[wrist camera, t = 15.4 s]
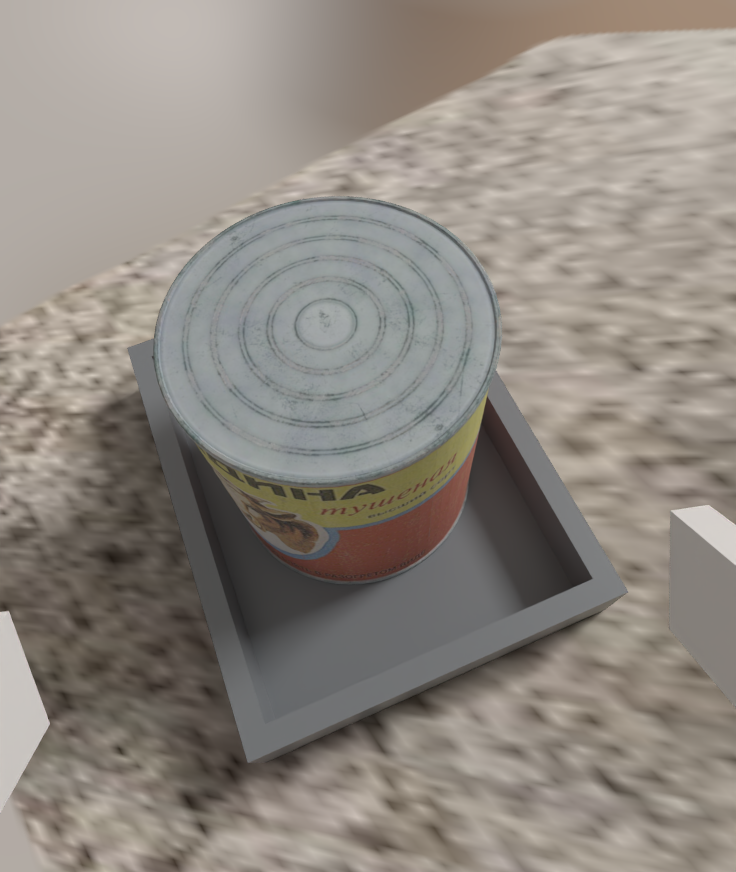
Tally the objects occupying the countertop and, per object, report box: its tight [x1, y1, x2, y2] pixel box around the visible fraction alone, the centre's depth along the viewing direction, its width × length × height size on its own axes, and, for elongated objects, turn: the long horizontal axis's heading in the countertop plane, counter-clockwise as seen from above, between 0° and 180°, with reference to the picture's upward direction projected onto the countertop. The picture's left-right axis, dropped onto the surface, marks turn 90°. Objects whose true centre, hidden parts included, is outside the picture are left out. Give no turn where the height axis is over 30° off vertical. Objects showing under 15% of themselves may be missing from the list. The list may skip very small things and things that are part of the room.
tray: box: [128, 339, 628, 763], centre depth 31 cm, size 16×20×4 cm
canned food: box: [153, 196, 502, 585], centre depth 26 cm, size 11×11×12 cm
